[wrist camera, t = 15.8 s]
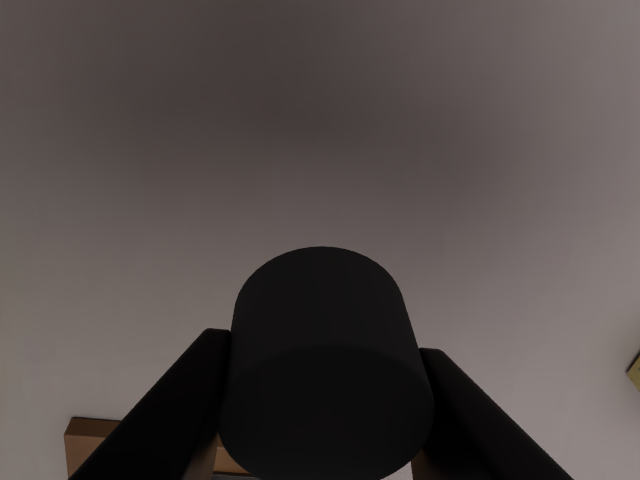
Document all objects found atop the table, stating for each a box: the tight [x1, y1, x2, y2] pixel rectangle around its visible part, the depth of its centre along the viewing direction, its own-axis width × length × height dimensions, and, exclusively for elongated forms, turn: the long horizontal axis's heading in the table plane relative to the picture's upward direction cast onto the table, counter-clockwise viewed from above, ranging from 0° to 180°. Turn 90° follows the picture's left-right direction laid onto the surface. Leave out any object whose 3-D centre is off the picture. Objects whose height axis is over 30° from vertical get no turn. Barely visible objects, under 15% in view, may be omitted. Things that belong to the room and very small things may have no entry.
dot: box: [218, 246, 435, 480], centre depth 8 cm, size 3×3×2 cm
